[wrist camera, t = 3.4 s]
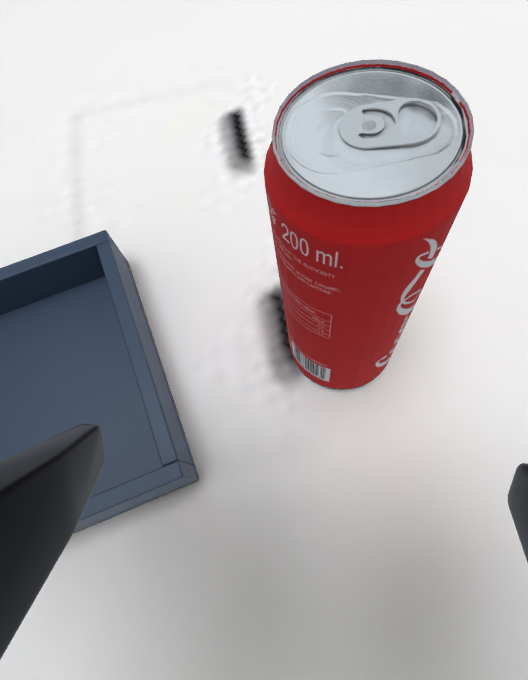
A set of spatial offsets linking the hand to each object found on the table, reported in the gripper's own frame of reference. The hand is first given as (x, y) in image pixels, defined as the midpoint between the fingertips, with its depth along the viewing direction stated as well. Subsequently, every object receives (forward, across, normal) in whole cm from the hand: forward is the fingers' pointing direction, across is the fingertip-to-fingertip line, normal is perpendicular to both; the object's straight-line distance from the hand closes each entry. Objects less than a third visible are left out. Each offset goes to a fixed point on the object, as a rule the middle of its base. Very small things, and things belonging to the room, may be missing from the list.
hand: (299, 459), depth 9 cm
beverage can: (+16, -2, +4) cm, 16 cm away
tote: (+12, +15, +7) cm, 20 cm away
